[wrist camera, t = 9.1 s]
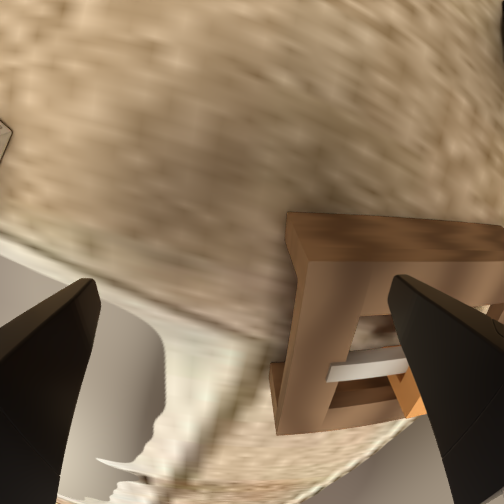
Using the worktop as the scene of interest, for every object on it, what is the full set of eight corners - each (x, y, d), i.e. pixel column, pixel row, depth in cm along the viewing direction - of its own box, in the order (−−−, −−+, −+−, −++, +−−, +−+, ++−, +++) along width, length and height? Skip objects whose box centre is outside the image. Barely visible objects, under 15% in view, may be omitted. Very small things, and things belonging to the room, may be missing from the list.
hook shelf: (500, 225, 23) (548, 263, 17) (445, 357, 30) (471, 402, 24) (287, 211, 21) (310, 264, 15) (268, 377, 29) (276, 438, 23)
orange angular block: (433, 292, 22) (476, 349, 16) (408, 353, 25) (438, 410, 19) (401, 294, 22) (442, 356, 16) (378, 357, 24) (405, 418, 19)
